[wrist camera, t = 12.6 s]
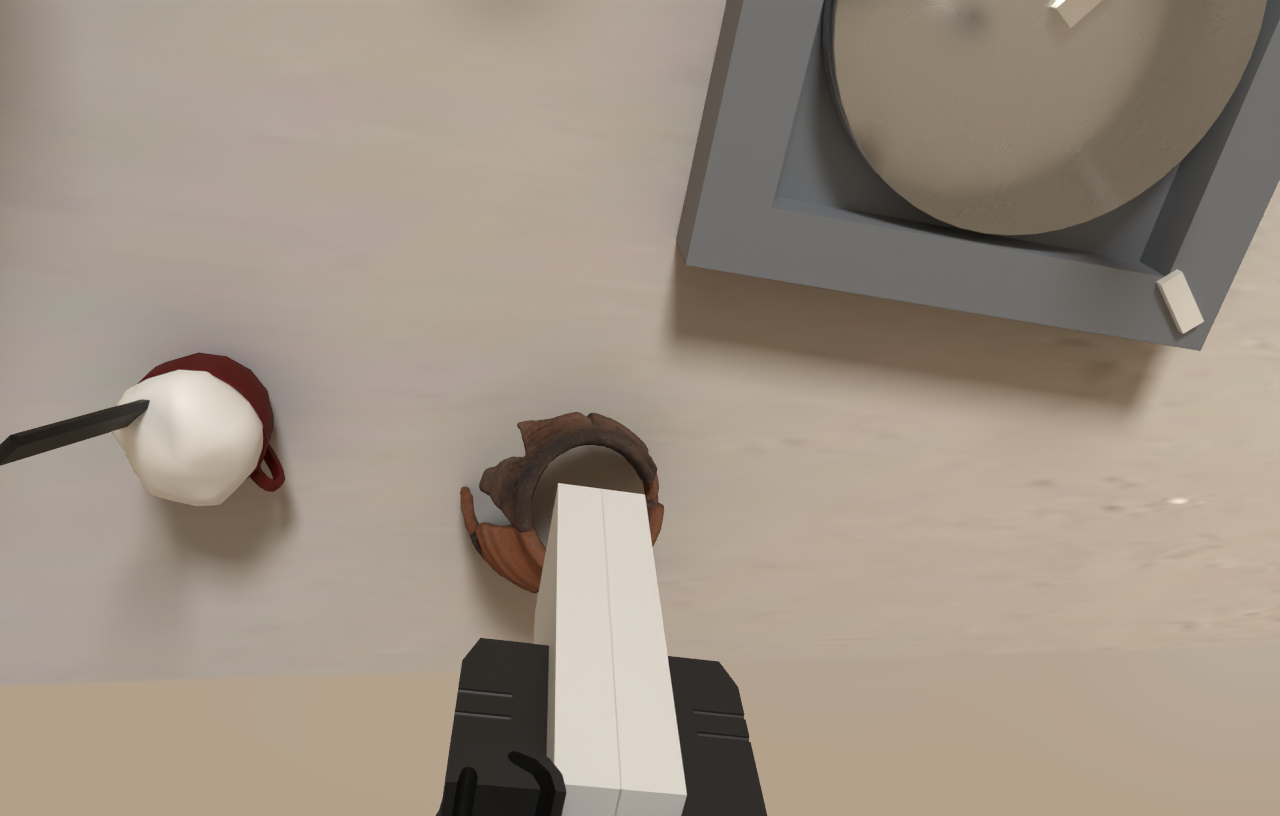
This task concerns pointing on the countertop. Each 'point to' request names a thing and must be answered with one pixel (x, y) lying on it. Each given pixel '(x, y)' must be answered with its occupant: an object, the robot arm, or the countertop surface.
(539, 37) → the countertop surface
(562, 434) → the brown split ring clamp
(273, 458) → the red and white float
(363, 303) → the countertop surface
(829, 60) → the dial
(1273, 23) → the tray
